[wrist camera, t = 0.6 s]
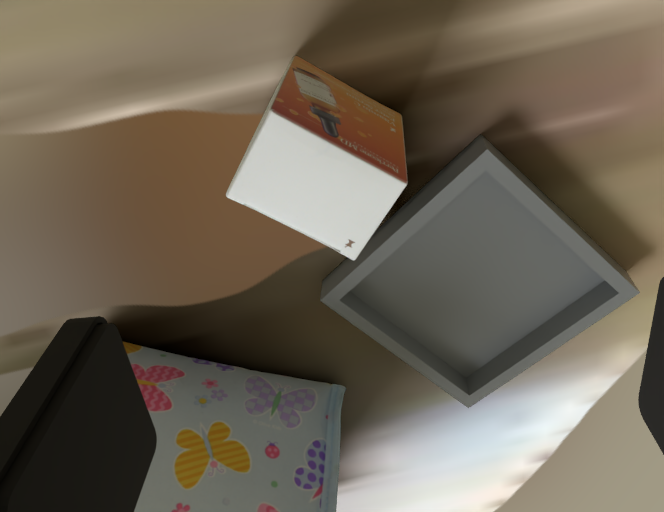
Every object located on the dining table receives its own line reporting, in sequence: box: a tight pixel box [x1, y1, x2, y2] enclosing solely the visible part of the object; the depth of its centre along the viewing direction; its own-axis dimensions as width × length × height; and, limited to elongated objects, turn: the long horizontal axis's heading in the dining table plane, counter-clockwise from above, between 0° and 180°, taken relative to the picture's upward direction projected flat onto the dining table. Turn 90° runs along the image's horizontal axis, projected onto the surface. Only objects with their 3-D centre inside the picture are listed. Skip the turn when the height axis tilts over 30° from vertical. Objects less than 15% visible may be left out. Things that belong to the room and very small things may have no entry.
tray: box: [320, 134, 640, 408], centre depth 44 cm, size 16×16×3 cm
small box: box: [226, 56, 408, 260], centre depth 35 cm, size 8×6×10 cm
